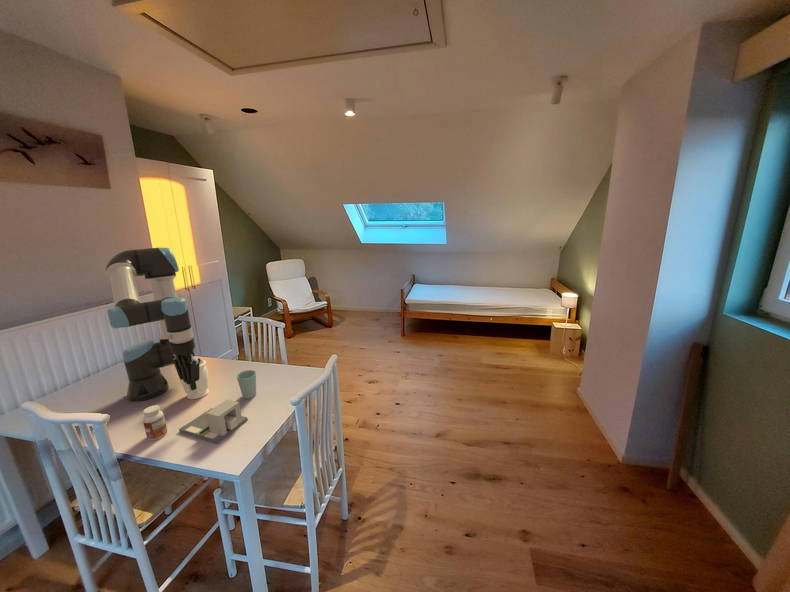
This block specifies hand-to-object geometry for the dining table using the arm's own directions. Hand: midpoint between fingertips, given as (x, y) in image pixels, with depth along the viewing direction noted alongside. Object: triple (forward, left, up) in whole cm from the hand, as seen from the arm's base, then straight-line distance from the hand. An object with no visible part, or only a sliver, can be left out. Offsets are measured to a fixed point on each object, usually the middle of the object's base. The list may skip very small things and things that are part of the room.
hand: (193, 396), depth 124 cm
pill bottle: (-6, -11, -11) cm, 17 cm away
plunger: (+15, -2, -9) cm, 18 cm away
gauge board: (+9, 0, -11) cm, 14 cm away
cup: (+6, +21, -11) cm, 24 cm away
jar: (-17, +14, -11) cm, 25 cm away
